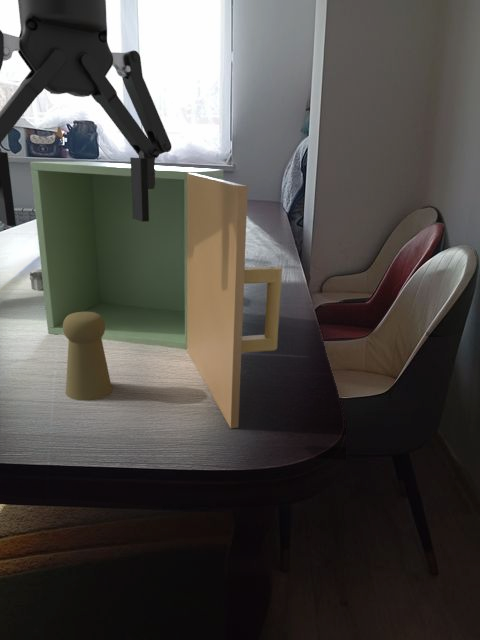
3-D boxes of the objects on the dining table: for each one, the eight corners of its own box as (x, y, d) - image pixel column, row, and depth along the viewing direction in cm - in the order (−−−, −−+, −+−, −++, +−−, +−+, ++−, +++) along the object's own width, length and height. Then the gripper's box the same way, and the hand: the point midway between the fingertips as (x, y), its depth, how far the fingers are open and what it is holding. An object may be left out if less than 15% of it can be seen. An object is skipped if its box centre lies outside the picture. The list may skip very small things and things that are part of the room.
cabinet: (191, 350, 86) (191, 171, 76) (47, 333, 90) (30, 161, 80) (220, 319, 103) (223, 169, 93) (97, 306, 107) (87, 161, 97)
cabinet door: (224, 348, 87) (228, 174, 77) (279, 422, 64) (295, 187, 54) (187, 351, 85) (187, 172, 75) (230, 428, 62) (238, 185, 52)
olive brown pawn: (119, 384, 72) (115, 309, 68) (99, 403, 67) (93, 323, 63) (79, 379, 73) (73, 305, 69) (56, 397, 67) (48, 318, 64)
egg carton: (29, 290, 116) (26, 272, 114) (33, 282, 122) (31, 265, 121) (79, 289, 118) (77, 272, 117) (80, 281, 125) (79, 265, 124)
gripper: (-106, -75, 36) (-55, 232, 44) (203, 1, 50) (201, 222, 58) (-111, -47, 42) (-65, 220, 49) (168, 14, 56) (171, 214, 63)
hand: (79, 222), depth 54 cm, fingers open, 13 cm apart
